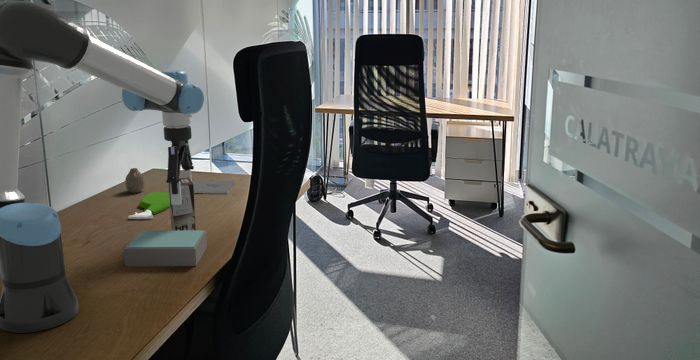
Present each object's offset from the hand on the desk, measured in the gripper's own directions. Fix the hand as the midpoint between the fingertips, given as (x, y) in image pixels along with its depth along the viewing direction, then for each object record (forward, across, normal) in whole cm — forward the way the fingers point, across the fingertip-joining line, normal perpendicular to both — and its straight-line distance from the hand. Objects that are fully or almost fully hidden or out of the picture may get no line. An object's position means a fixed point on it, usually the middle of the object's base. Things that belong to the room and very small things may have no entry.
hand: (182, 197), depth 173 cm
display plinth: (+11, -18, 0) cm, 21 cm away
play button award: (+12, +53, +4) cm, 54 cm away
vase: (+12, +48, +29) cm, 57 cm away
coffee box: (+11, 0, 0) cm, 11 cm away
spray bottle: (+12, +26, +17) cm, 33 cm away
